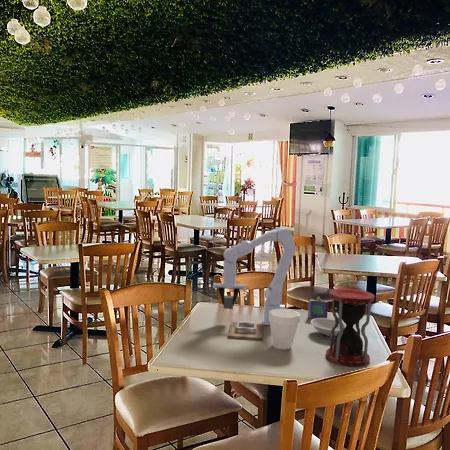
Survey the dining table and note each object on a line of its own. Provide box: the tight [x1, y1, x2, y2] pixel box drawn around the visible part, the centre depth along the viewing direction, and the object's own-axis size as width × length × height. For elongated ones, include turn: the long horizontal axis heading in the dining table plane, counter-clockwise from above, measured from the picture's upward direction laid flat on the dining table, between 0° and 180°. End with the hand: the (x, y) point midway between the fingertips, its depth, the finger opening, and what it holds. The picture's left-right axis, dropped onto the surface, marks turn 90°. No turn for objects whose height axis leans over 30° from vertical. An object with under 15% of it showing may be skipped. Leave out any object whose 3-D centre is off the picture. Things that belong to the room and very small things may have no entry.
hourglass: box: [325, 288, 375, 367], centre depth 179 cm, size 16×16×25 cm
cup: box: [268, 308, 301, 351], centre depth 189 cm, size 12×12×14 cm
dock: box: [227, 321, 264, 341], centre depth 206 cm, size 14×19×3 cm
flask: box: [307, 296, 329, 320], centre depth 230 cm, size 9×3×11 cm, turn 76°
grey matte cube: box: [223, 294, 234, 310], centre depth 217 cm, size 4×4×5 cm
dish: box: [309, 317, 346, 337], centre depth 206 cm, size 18×14×5 cm
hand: (228, 304), depth 218 cm, fingers closed on grey matte cube, 4 cm apart
